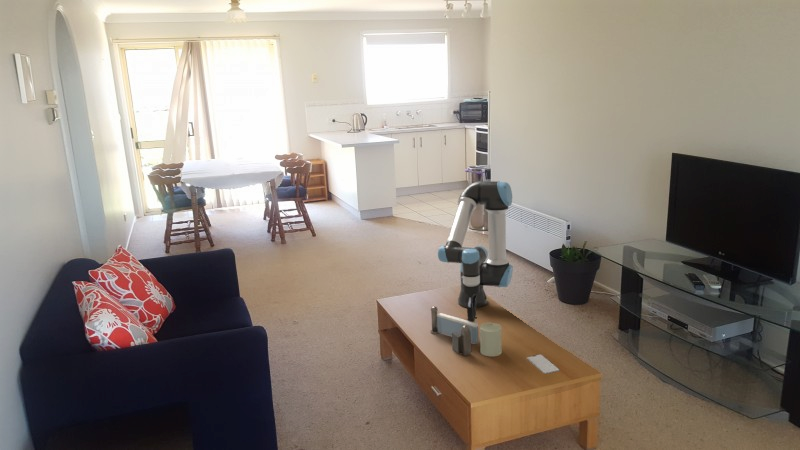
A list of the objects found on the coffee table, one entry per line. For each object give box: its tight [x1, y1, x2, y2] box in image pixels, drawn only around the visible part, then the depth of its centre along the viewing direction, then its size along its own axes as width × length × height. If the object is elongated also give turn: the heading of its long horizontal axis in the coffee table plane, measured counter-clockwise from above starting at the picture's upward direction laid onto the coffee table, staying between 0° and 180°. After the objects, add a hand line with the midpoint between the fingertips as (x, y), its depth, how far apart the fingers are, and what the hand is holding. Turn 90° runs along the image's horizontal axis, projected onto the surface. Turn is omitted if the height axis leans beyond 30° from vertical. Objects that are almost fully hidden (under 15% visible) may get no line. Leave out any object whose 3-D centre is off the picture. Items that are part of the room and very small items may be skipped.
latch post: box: [451, 325, 472, 357], centre depth 249 cm, size 5×8×13 cm, turn 27°
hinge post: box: [429, 306, 440, 335], centre depth 270 cm, size 4×4×13 cm
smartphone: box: [526, 353, 561, 375], centre depth 236 cm, size 7×1×15 cm
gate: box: [437, 312, 480, 345], centre depth 262 cm, size 22×2×9 cm, turn 48°
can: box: [479, 322, 503, 358], centre depth 248 cm, size 9×9×12 cm
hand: (472, 333), depth 262 cm, fingers closed
